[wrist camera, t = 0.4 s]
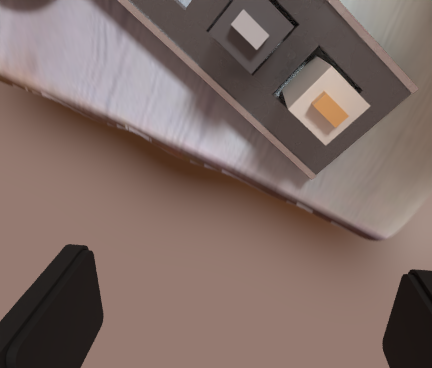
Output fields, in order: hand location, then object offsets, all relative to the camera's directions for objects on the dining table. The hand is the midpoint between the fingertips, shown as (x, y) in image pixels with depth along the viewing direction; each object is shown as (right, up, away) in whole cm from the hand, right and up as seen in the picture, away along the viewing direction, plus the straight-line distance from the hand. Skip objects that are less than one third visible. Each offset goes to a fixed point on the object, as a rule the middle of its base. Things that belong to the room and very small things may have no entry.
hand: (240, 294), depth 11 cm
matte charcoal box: (+3, +17, +21) cm, 27 cm away
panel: (+3, +17, +20) cm, 27 cm away
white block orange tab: (+9, +12, +22) cm, 27 cm away
